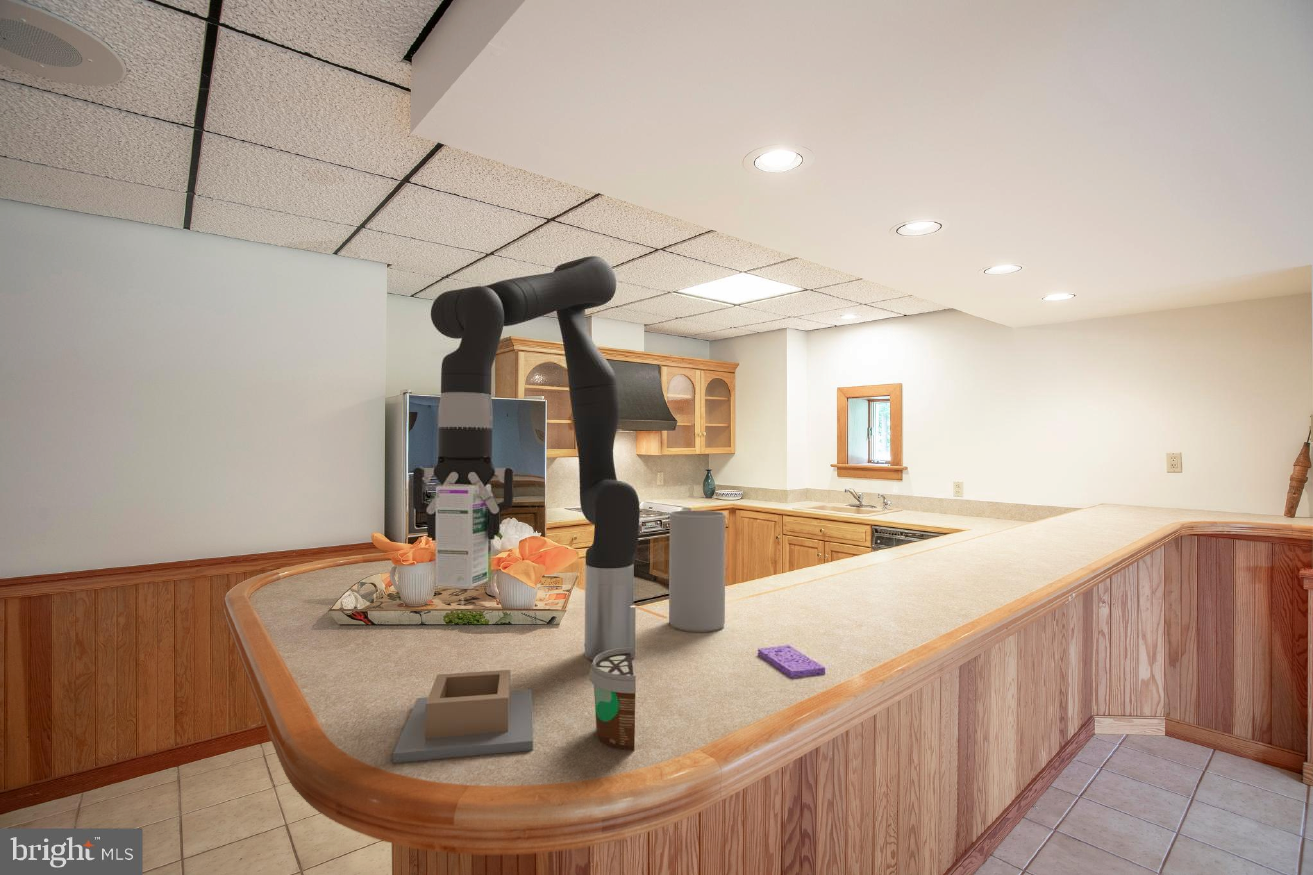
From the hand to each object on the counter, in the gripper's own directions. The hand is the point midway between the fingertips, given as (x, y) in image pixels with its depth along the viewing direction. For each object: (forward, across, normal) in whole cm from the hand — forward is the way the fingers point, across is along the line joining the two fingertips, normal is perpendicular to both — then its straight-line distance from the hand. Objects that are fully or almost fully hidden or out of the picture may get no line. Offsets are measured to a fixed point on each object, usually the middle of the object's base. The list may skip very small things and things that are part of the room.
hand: (463, 539), depth 87 cm
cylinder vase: (+26, -46, -41) cm, 67 cm away
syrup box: (+7, 0, 0) cm, 7 cm away
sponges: (+27, -56, -14) cm, 64 cm away
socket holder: (+26, -2, +2) cm, 26 cm away
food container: (+26, -21, +8) cm, 34 cm away
